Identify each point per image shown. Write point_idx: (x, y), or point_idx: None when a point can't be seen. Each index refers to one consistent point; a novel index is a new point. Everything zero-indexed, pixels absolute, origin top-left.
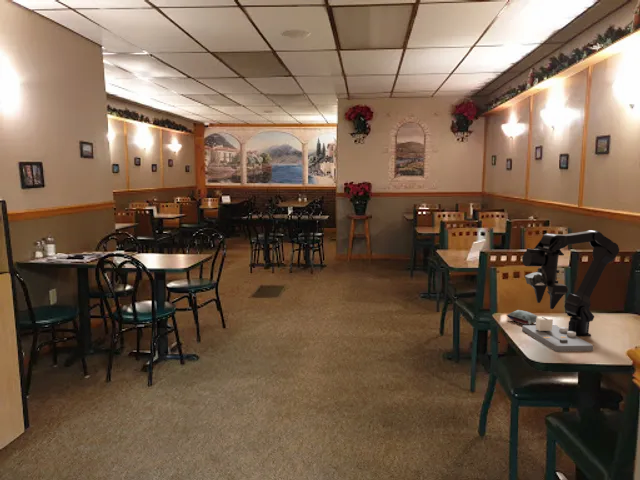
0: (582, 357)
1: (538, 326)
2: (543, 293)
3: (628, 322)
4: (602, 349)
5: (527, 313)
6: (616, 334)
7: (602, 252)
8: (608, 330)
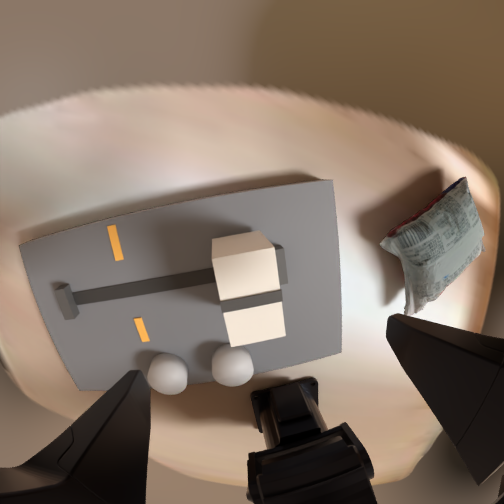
0: (13, 311)
1: (230, 240)
2: (440, 416)
3: None
4: None
5: (444, 257)
6: None
7: None
8: None
